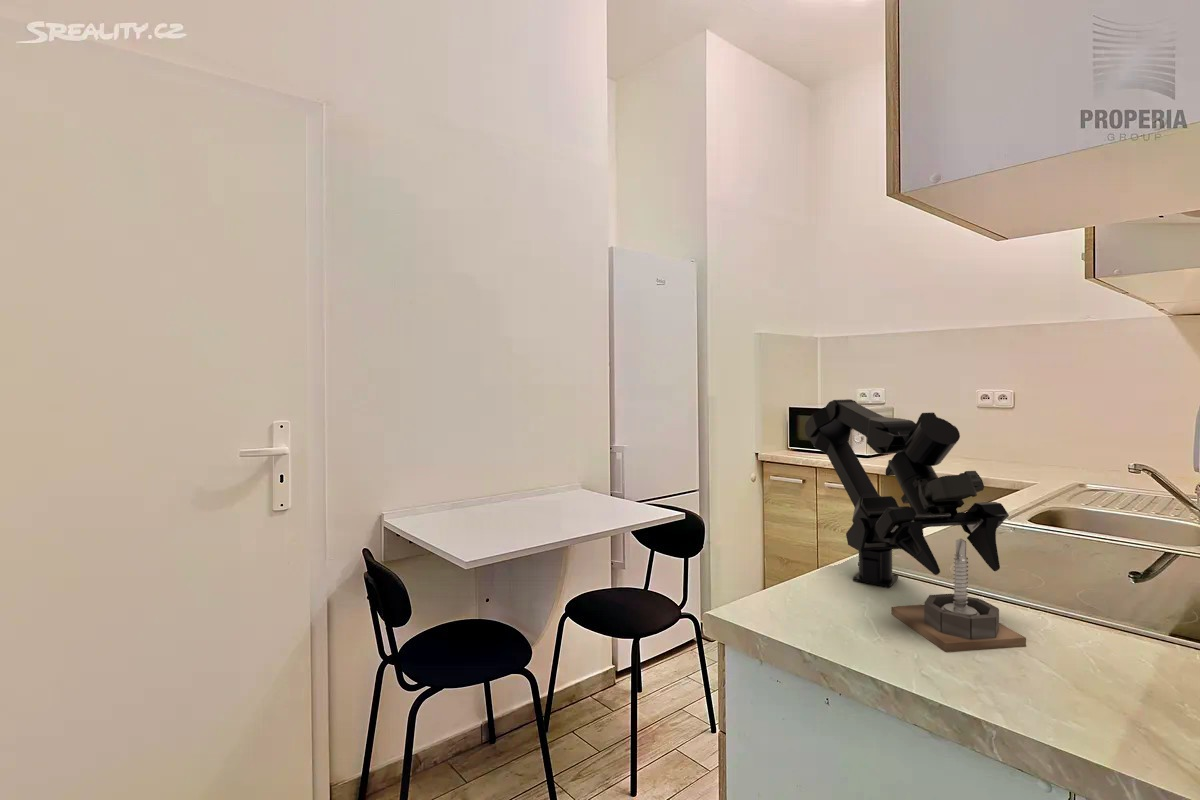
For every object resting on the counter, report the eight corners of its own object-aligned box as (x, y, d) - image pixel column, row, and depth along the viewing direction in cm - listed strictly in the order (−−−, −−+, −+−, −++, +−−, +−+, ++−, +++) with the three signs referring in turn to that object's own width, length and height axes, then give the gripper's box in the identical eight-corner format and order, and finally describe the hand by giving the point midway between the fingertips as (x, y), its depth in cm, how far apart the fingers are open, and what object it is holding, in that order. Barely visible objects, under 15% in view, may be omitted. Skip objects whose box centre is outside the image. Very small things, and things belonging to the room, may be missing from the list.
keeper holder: (891, 613, 94) (891, 588, 94) (961, 609, 95) (961, 583, 95) (945, 651, 81) (945, 622, 81) (1026, 645, 82) (1026, 616, 82)
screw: (938, 616, 90) (974, 620, 88) (945, 629, 85) (983, 633, 84) (938, 532, 89) (975, 535, 88) (946, 541, 85) (984, 544, 83)
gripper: (884, 455, 89) (932, 548, 78) (999, 450, 90) (1061, 540, 80) (858, 496, 97) (897, 585, 86) (963, 490, 98) (1015, 577, 88)
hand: (967, 571), depth 85 cm, fingers open, 9 cm apart
